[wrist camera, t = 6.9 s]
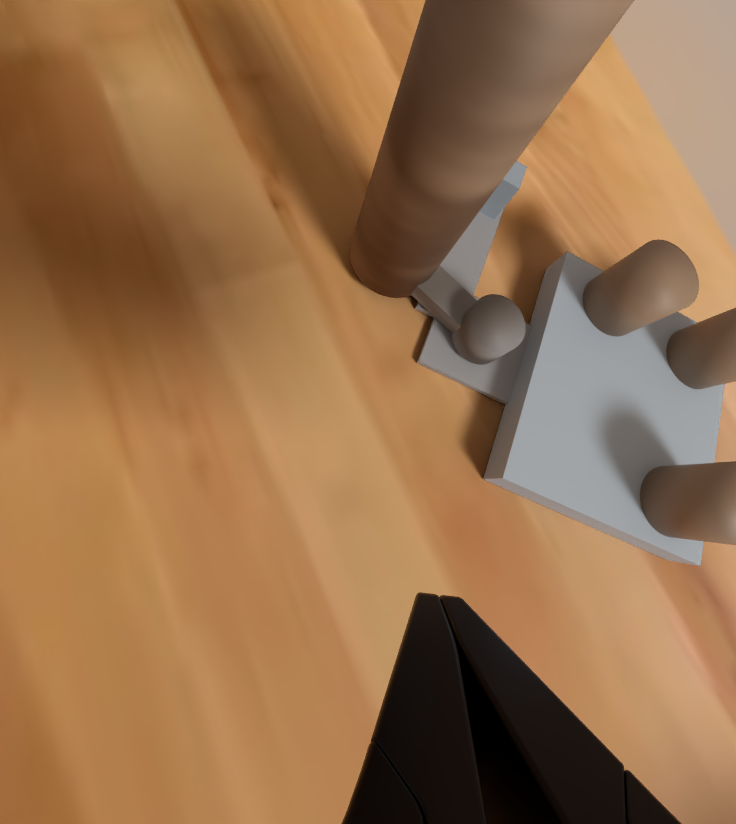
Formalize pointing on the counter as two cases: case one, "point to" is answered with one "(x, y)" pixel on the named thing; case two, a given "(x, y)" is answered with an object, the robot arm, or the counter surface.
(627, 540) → the grey flat piece
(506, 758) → the robot arm
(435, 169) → the tall brown cylinder
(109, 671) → the counter surface
